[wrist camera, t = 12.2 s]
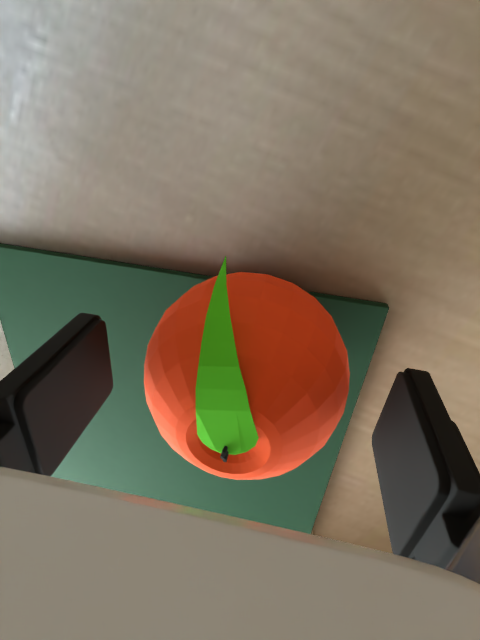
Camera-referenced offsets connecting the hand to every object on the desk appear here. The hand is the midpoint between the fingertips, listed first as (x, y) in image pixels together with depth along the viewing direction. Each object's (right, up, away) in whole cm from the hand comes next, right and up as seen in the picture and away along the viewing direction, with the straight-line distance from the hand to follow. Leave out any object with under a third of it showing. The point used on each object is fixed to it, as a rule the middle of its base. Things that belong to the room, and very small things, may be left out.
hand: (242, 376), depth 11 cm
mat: (-4, -4, +8) cm, 10 cm away
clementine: (+1, +2, +4) cm, 5 cm away
